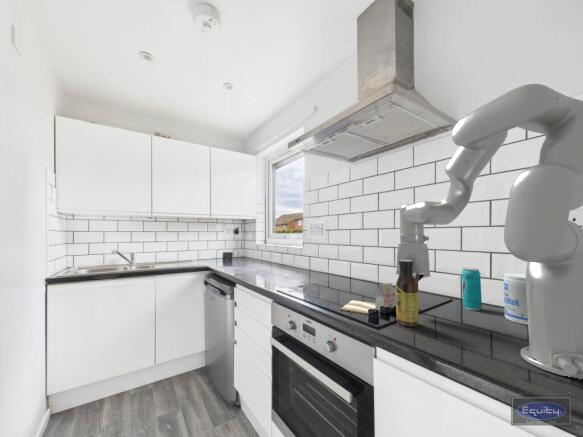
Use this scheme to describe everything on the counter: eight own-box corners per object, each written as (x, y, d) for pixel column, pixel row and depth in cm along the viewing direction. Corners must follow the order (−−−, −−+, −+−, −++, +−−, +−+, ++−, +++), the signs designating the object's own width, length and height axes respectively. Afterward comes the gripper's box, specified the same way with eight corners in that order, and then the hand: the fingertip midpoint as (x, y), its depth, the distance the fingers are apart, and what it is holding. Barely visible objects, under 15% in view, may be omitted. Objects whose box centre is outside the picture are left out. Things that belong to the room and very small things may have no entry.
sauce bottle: (397, 319, 83) (395, 258, 84) (418, 322, 80) (416, 259, 81) (395, 326, 77) (394, 260, 78) (418, 329, 74) (416, 261, 75)
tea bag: (375, 311, 91) (375, 283, 92) (387, 308, 95) (386, 282, 95) (384, 314, 88) (383, 285, 89) (395, 311, 92) (395, 283, 92)
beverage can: (461, 306, 98) (460, 267, 99) (479, 307, 96) (478, 268, 97) (464, 310, 93) (462, 269, 94) (483, 312, 91) (481, 270, 92)
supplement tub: (497, 317, 85) (495, 273, 86) (520, 315, 87) (518, 272, 87) (528, 327, 75) (526, 278, 76) (554, 326, 77) (551, 277, 78)
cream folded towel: (370, 315, 87) (370, 313, 87) (340, 310, 93) (340, 308, 93) (379, 305, 99) (379, 303, 99) (352, 301, 105) (351, 300, 105)
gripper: (436, 239, 88) (438, 293, 86) (391, 239, 95) (392, 288, 94) (436, 240, 81) (438, 298, 80) (387, 239, 89) (388, 292, 88)
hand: (413, 292), depth 87 cm, fingers closed
